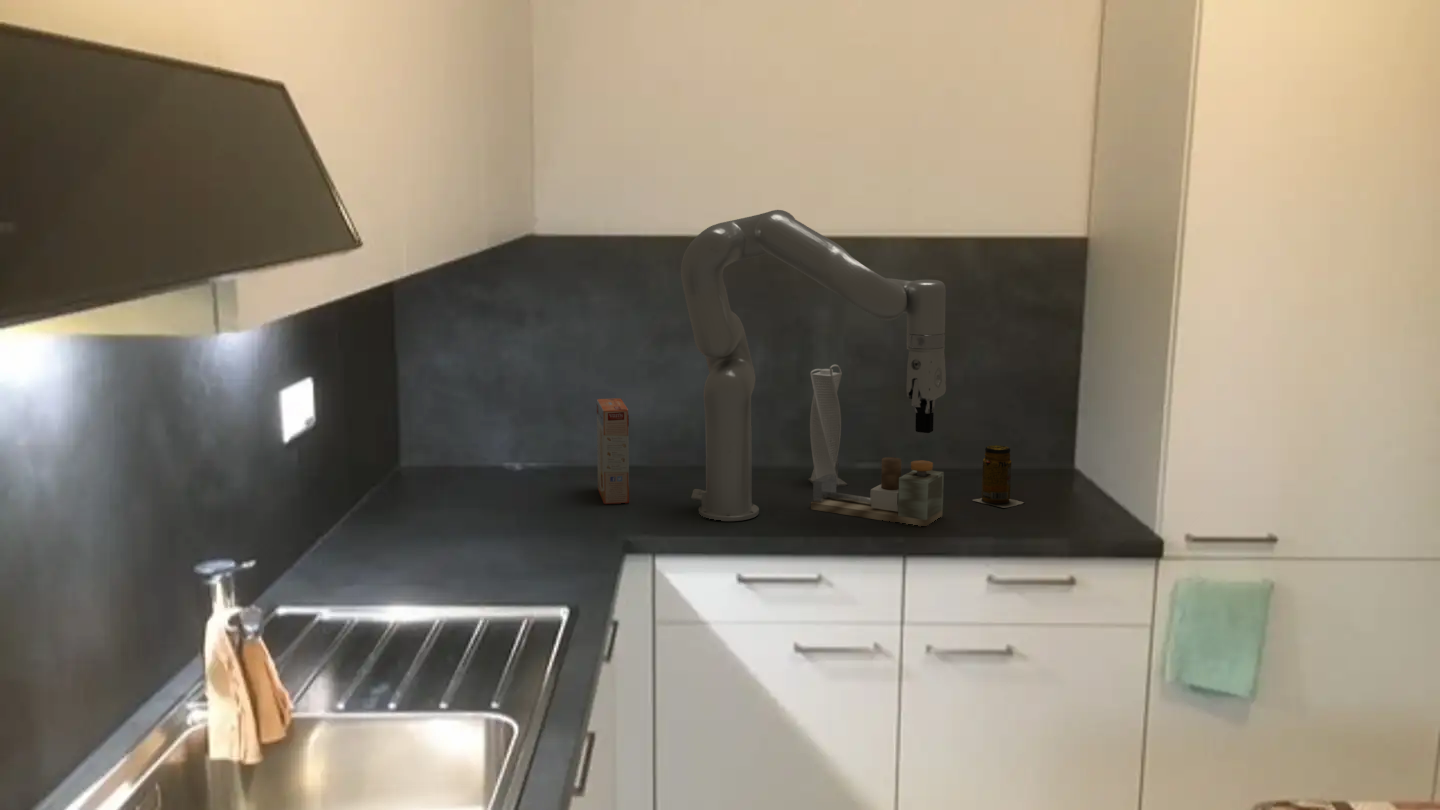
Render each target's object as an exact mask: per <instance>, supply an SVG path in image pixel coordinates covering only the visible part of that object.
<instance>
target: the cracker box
mask: <svg viewBox="0 0 1440 810" xmlns="http://www.w3.org/2000/svg"><path fill="white" fill-rule="evenodd" d="M629 414H630V411H629V408H628V407H627V405H626V404H625V402H624V401H623V400H622V398H617V397H616V398H598V399H596V432H597V433H596V443H597V444H596V447H597V450H596V452H597V455H596V456H597V490H598V493H599V495H600V498H601V500H602V502H603V504H604V505H619V504H621V503H625V504H629V503H630V444H629V440H630V438H629V437H630V436H629V434H630V432H629V431H630V430H629V429H630V428H629V427H630V424H629V423H630V422H629V421H630V415H629Z"/></svg>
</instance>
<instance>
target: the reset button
mask: <svg viewBox="0 0 1440 810" xmlns="http://www.w3.org/2000/svg"><path fill="white" fill-rule="evenodd" d="M933 468H934V462H932V461H929V460H923V459H922V460H920V459H919V460H913V461H910V469H911V471H913V470H915V471H917V476H920V477H927V471H931V470H932V471H934V470H933Z"/></svg>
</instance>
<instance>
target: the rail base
mask: <svg viewBox="0 0 1440 810" xmlns="http://www.w3.org/2000/svg"><path fill="white" fill-rule="evenodd" d="M944 477H945V473H944V471H939V470H938V471H937V470H931V471H927V477H920V476H917V471H915V470H910V471H909V472H907V473H905V474H903V475H901V477H899V501H898V512H896V511H890V510H883V509H877V508H871V501H870V497H869V496H862V495H857V494H856V495H854V494H848V493H842V492H837V486H836V478H837V475H833V474H827V475H825V476H823V477H820V478H818V479H816V480H814V481H813V483H812V501H811V502H810V510H813V511H820V512H824V513H825V512H826V513H832V514H837V515H838V514H839V515H846V516H851V517H857V518H864V519H872V520H877V521H882V520H883V522H889V521H890V523H895V522H900V523H899V524H902V523H906V524H905V525H908V524H913V525H912V526H914V525H918V526H917V527H921V526H927V525H928V526H930V525H931V524H930V523H932V522H933V523H934V521H935V520H936V521H938V520H939V519H938V518H940V517H941V518H943V513H944V512H943V511H944V510H943V509H944V504H943V503H944V480H945V479H944ZM941 518H940V519H941ZM937 519H938V520H937ZM936 521H935V522H936ZM933 523H932V524H933ZM929 524H930V525H929ZM928 526H927V527H928Z"/></svg>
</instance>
